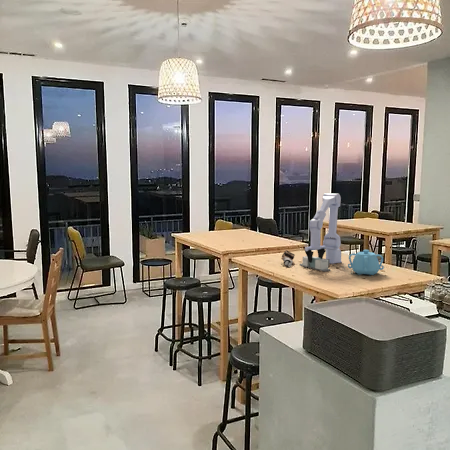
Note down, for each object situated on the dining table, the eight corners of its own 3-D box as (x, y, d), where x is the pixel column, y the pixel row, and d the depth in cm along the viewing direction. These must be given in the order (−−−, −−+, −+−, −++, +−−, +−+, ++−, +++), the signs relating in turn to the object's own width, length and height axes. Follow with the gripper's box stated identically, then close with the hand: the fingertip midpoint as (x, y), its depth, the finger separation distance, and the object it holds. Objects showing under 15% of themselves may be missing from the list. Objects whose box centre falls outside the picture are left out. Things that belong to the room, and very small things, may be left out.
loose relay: (322, 264, 285) (322, 258, 284) (329, 265, 281) (329, 259, 281) (318, 265, 281) (318, 259, 281) (325, 266, 278) (325, 260, 277)
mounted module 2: (322, 267, 272) (323, 258, 271) (328, 268, 268) (328, 259, 267) (315, 268, 269) (315, 259, 268) (320, 269, 265) (320, 261, 264)
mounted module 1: (310, 263, 282) (310, 255, 281) (315, 265, 278) (315, 256, 277) (302, 264, 279) (302, 256, 278) (307, 266, 275) (307, 257, 274)
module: (315, 265, 276) (315, 256, 275) (320, 267, 272) (320, 257, 271) (310, 266, 274) (310, 257, 274) (315, 267, 270) (315, 258, 269)
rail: (305, 264, 284) (305, 262, 284) (330, 270, 265) (330, 269, 265) (299, 265, 282) (299, 263, 282) (323, 271, 263) (323, 270, 263)
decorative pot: (386, 275, 254) (387, 251, 252) (363, 277, 248) (363, 253, 247) (367, 269, 269) (368, 246, 268) (344, 271, 263) (345, 248, 262)
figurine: (284, 257, 276) (284, 247, 290) (277, 267, 279) (278, 257, 293) (297, 264, 276) (296, 254, 290) (290, 274, 279) (290, 264, 293)
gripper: (310, 241, 264) (310, 264, 266) (329, 239, 271) (328, 261, 273) (302, 239, 270) (302, 262, 272) (321, 237, 278) (320, 259, 279)
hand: (315, 261), depth 273 cm, fingers open, 7 cm apart
